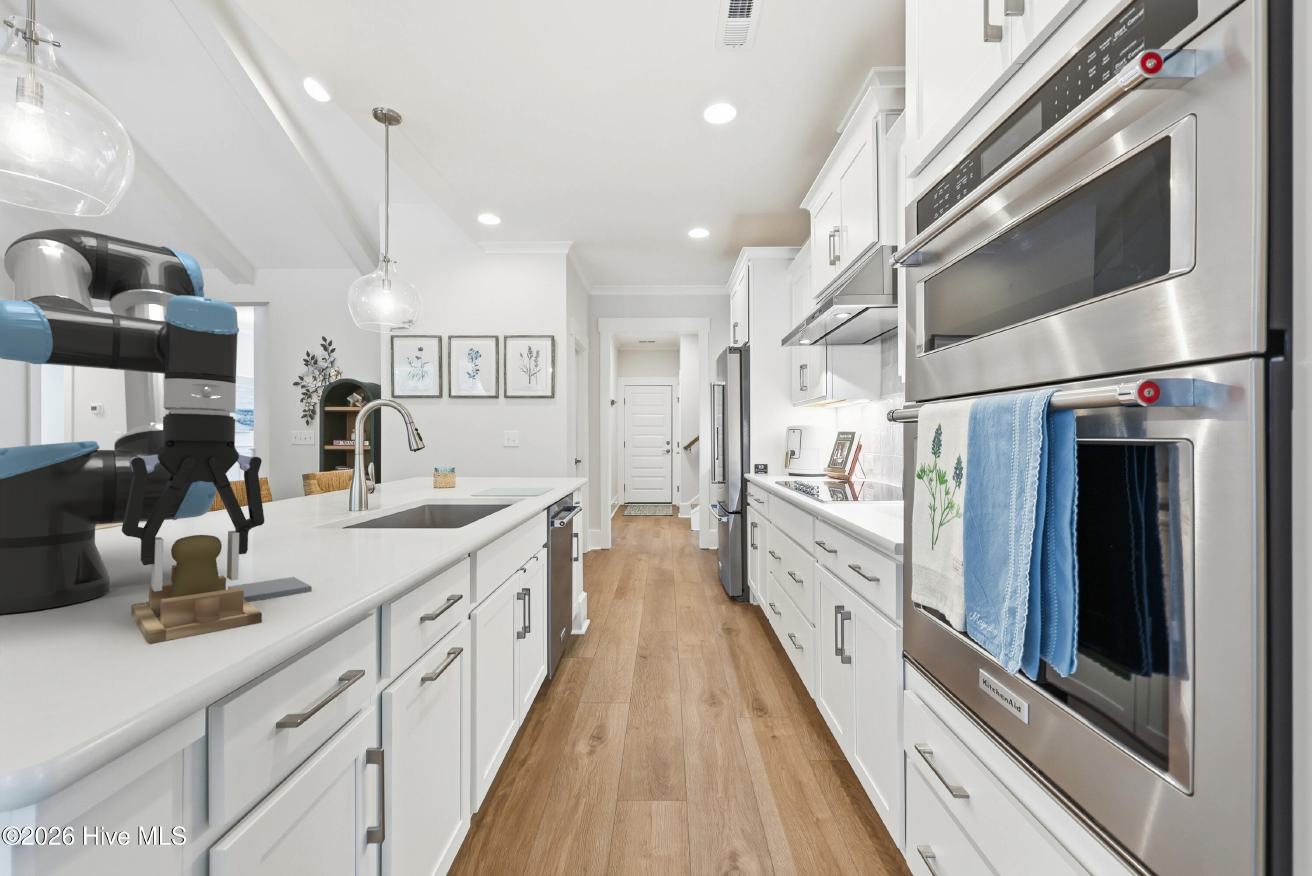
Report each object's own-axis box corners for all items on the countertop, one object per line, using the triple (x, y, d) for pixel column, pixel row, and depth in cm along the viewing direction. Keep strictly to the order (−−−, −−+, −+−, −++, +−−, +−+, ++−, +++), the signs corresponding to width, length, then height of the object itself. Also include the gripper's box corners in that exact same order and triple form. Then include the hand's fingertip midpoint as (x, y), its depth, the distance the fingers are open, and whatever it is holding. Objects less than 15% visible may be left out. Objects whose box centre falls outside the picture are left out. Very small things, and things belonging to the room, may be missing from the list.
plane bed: (131, 613, 75) (132, 569, 75) (230, 597, 84) (231, 558, 84) (148, 643, 64) (150, 592, 64) (261, 622, 72) (262, 576, 72)
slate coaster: (227, 591, 87) (228, 586, 87) (293, 581, 94) (293, 576, 94) (242, 602, 81) (242, 597, 81) (311, 591, 88) (311, 586, 88)
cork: (190, 626, 70) (192, 540, 70) (152, 623, 71) (155, 538, 72) (235, 612, 76) (237, 533, 76) (199, 609, 77) (201, 531, 78)
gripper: (96, 407, 64) (90, 604, 64) (295, 416, 79) (291, 575, 79) (92, 410, 69) (86, 592, 69) (279, 417, 84) (275, 567, 84)
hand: (196, 583), depth 74 cm, fingers open, 7 cm apart
